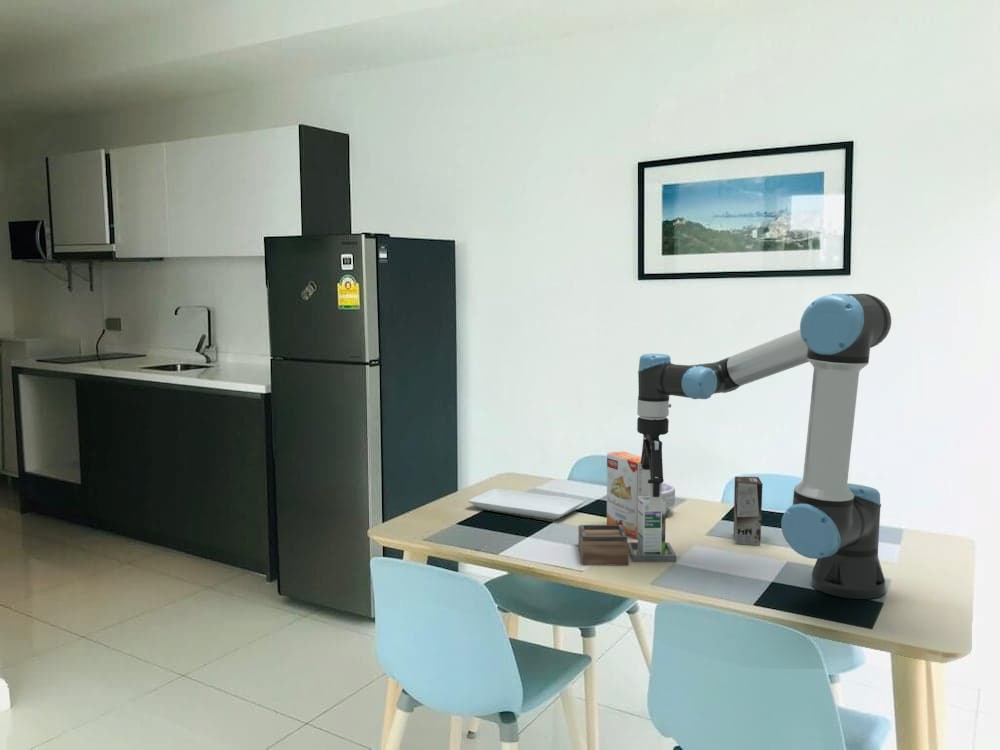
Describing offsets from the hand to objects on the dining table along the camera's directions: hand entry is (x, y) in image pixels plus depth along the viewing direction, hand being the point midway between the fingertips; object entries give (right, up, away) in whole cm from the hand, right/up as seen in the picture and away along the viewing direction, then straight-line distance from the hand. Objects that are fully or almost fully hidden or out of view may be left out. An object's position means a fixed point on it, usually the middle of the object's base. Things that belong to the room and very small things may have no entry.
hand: (650, 502), depth 207 cm
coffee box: (+28, -12, +13) cm, 33 cm away
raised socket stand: (-12, -13, +2) cm, 18 cm away
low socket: (0, -13, +1) cm, 13 cm away
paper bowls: (+7, -10, +40) cm, 41 cm away
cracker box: (-2, -11, +21) cm, 24 cm away
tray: (-30, -10, +44) cm, 54 cm away
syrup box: (0, -14, +1) cm, 14 cm away
